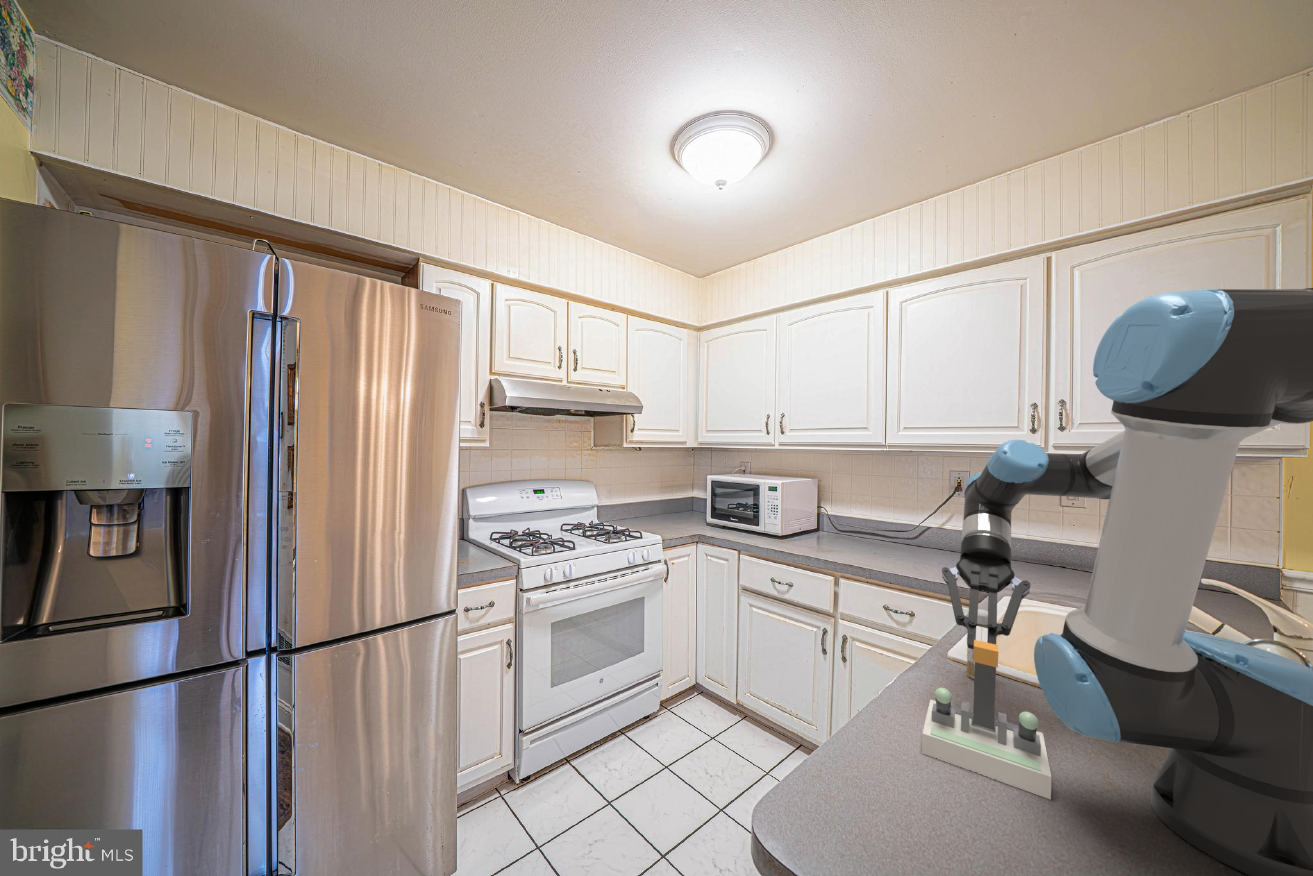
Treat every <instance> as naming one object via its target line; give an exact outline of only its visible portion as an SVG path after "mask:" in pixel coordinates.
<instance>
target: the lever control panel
mask: <svg viewBox="0 0 1313 876" xmlns="http://www.w3.org/2000/svg"><path fill="white" fill-rule="evenodd" d="M934 696H935V700H933V699H929V703H928V704H929V705H928V708H927V712H926V716H925V721H924V726H923V730H922V735H921V736H922V738H921V739H922V741H921V754H923V755H926V756H929V757H931V758H934V759H936V758H937V760H939V761H942V762H945V763H948V764H950V763H951V765H954V766H956V767H959V768H961V767H962V769H963V770H967V771H970V770H971V771H970V772H972V773H973V772H974V773H975V772H977V773H976V774H979V775H981V774H982V775H981V776H984V777H986V776H987V778H989V779H992V780H995V779H996V780H995V781H998V782H1001V783H1004V784H1006V785H1010V786H1012V787H1014V788H1017V789H1021V790H1023V791H1025V792H1027V793H1028V792H1029V793H1032V794H1034V795H1037V796H1040V797H1041V798H1045V799H1048V800H1050V801H1051V799H1052V778H1053V777H1052V772H1051V768H1050V762H1049V759H1048V758H1049V757H1048V753H1047V748H1046V744H1045V743H1046V742H1045V738H1044V734H1043V732H1041V731H1038V727H1039V720H1038V718H1037V716H1035V714H1034V713H1031V712H1030V711H1022V712H1020V714H1019V716H1018V725H1017V724H1014V723H1011V722H1008V719H1007V714H1006V713H1003V712H1000V711H999V712H997V718H995V717H994V721H996V732H995V733H994V732H991V731H988V730H984V729H981V728H978V727H975V726H972V725H971V721H972V714H973V711H972V710H970V709H971V704H970V703H969V702H966V701H962V702H961V707H958V706H954V705H952V694H951V692H950V691H949V690H948V689H947V688H945V687H938V688H937V689H936V690H935V692H934Z"/></svg>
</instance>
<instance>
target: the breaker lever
mask: <svg viewBox="0 0 1313 876" xmlns="http://www.w3.org/2000/svg"><path fill="white" fill-rule="evenodd" d="M973 662H975V675H974V681H973V682H974V683H973V684H974V685H973V709H972V710H973V711H972V712H973V714H972V721H971V725H972V726H975V727H978V728H981V729H984V730H988V731H991V732H994V733H995V732H996V721H994V718H995V716H996V715H995V712H996V711H995V709H996V684H997V683H996V682H997V680H996V679H997V678H996V677H997V668H998V667H999V645H998V644H996V645H995V644H991V643H987V642H982V641H978V640H974V655H973Z"/></svg>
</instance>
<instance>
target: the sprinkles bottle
mask: <svg viewBox="0 0 1313 876" xmlns="http://www.w3.org/2000/svg"><path fill="white" fill-rule="evenodd" d="M968 614H969V609H968V610H967V615H968ZM977 626H980V627H984V628H988V610H985V609H979V608H978V616H977ZM981 641H982V639H981ZM966 646H967V645H966ZM966 651H967V652H966V659H967V661H966V662H967V663H966V665H967V666H966V671H965V672H966V673H965V675H966V676H967V677H969V678H970V679H972V680H973V679H974V675H975V672H974V662H973V655H974V649H970V648H968V646H967V648H966Z"/></svg>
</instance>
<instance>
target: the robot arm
mask: <svg viewBox="0 0 1313 876" xmlns="http://www.w3.org/2000/svg"><path fill="white" fill-rule="evenodd" d="M1092 373H1093V377H1094V378H1097V379H1096V380H1095V383H1094V384H1095V386H1096V387H1097V389H1098V391H1099V393H1101V394H1102V395H1103V396H1104V397H1106V398H1107V399H1109V400H1111V401H1112V402H1113V403H1112V405H1111V410H1110V414H1111V415H1113V417H1115V419H1117V420H1118V421H1119V423H1120V424H1121V425H1122V426H1123V428H1124V430H1122V431H1120V432H1119V433H1118V434H1115V435H1114V436H1112V437H1109V438H1108V439H1107V440H1105V441H1104V442H1101V443H1100V444H1098V445H1096V446H1095V447H1092V448H1090V449H1089V450H1086V451H1085V452H1083V453H1078V454H1076V453H1075V454H1073V453H1070V454H1069V453H1047V451H1045V450H1044V449H1043V448H1042V447H1041V446H1040V445H1038V444H1036V443H1034V442H1027V440H1025V439H1010V440H1008V441H1005V442H1003V443H1001V444H1000V445H999V446H998V448H997V449H996V450H995V451H994V452H993V453H992V455H990V457H989V459H988V460H987V463H986V465H985V466H984V468H983V470H982V471H981V472H980V471H979V472H977V473H976V474H973V475H971V476H970V477H969V478H968V479H967V482H966V485H965V489H964V491H963V495H964V496H963V497H964V502H963V503H964V504H963V505H964V507H963V518H962V520H963V521H962V527H961V528H962V530H961V543H960V557H959V561H958V562H957V563H956V564H955V566H954V567H951V568H948V567H947V566H944V567H942V568H941V571H942V572H941V575H942V579H943V581H944V582H945V584H946V585H947V587H948V591H949V595H950V601H951V606H952V609H953V615H954V620H955V623H956V625H958V626H963V627H964V628H965V629H966V630H967V633H966V634H967V635H966V646H968V648H970V649H974V640H978V641H981V639H982V642H987V643H991V644H995V645H997V637H998V636H1000V635H1002V636H1005V637H1008V636H1010V634H1011V633H1012V629H1013V626H1014V624H1015V620H1016V617H1017V615H1018V612H1019V609H1020V606H1021V603H1022V601H1023V599H1024V598H1025V597H1027V596H1028V595H1029V594H1030V591H1031V582H1030V581H1029V580H1021V579H1020V578H1018V577H1016V576H1015V572H1014V570H1013V568H1012V548H1011V546H1012V513H1013V510H1014V509H1015V507H1016V506H1017V505H1018V504H1019V503H1020V502H1021V500H1023V498H1024V497H1025V496H1026V495H1029V496H1031V495H1032V496H1034V495H1035V496H1048V497H1049V496H1051V497H1070V498H1071V497H1073V498H1088V499H1098V500H1099V499H1100V500H1108V505H1107V508H1106V513H1105V516H1104V517H1105V518H1104V522H1103V525H1102V526H1103V527H1102V530H1101V533H1100V534H1101V535H1100V539H1099V544H1098V548H1097V550H1096V552H1097V553H1096V557H1095V561H1094V566H1093V570H1092V574H1091V577H1090V582H1089V587H1088V591H1087V595H1086V600H1085V604H1084V607H1081V608H1076V609H1072V610H1070V611H1069V612H1068V613H1067V614H1066V615H1065V616H1066V617H1065V619H1064V624H1063V628H1062V632H1061V634H1057V633H1054V632H1050V633H1048V634H1043V635H1042V636H1039V637H1038V638H1037V640H1036V643H1035V645H1034V650H1033V662H1034V663H1033V664H1034V668H1035V673H1036V677H1037V681H1038V683H1039V685H1040V688H1041V690H1042V693H1043V695H1044V698H1045V699H1046V701H1047V703H1048V705H1049V706H1050V708H1051V710H1052V711H1053V712H1054V714H1055V715H1056V716H1057V718H1058V720H1059V719H1060V721H1061V722H1062V723H1063V724H1064V725H1065V726H1066V727H1067V728H1069V729H1070V730H1072V731H1073V732H1075V733H1076V734H1078V735H1082V736H1084V737H1089V738H1094V739H1099V740H1103V741H1104V740H1105V741H1107V742H1109V743H1112V744H1113V743H1114V744H1115V743H1126V744H1127V743H1128V744H1136V745H1143V746H1150V747H1151V746H1152V747H1159V748H1168V749H1171V751H1170V752H1169V754H1168V755H1167V756H1168V757H1167V758H1166V760H1165V761H1164V762H1163V765H1162V766H1161V768H1160V770H1159V771H1158V772H1157V774H1156V776H1155V778H1154V779H1153V782H1152V784H1151V791H1150V793H1151V794H1150V804H1151V807H1152V810H1153V811H1154V814H1156V816H1157V817H1158V818H1159V819H1160V820H1161V821H1162V823H1164V825H1166V826H1167V827H1168V828H1169V829H1170V830H1171V831H1173V832H1174V833H1175V834H1177V835H1178V836H1179V837H1181V838H1182V839H1183V840H1185V841H1187V842H1188V843H1189V844H1191V846H1194V847H1195V848H1196V849H1197V850H1198V849H1199V850H1200V851H1201V852H1203V853H1205V854H1207V855H1209V856H1210V857H1212V858H1214V859H1215V860H1217V861H1219V862H1221V863H1223V864H1224V865H1227V866H1229V867H1231V868H1233V869H1235V870H1237V871H1239V872H1241V873H1244V874H1245V875H1248V876H1313V669H1312V668H1311V667H1308V666H1306V665H1304V664H1303V663H1301V662H1299V661H1295V660H1294V659H1293V660H1292V659H1290V658H1288V657H1285V656H1282V655H1279V654H1277V653H1274V652H1271V651H1268V650H1265V649H1262V648H1258V647H1255V646H1252V645H1250V644H1247V643H1246V644H1245V643H1244V642H1243V643H1242V642H1239V641H1235V640H1233V639H1227V638H1224V637H1220V636H1215V635H1212V634H1207V633H1201V632H1197V631H1196V632H1195V631H1190V630H1187V626H1188V624H1189V620H1190V616H1191V613H1192V610H1193V607H1194V603H1195V599H1196V596H1197V592H1198V589H1199V585H1200V582H1201V578H1202V576H1203V575H1202V574H1203V572H1204V567H1205V564H1206V561H1207V558H1208V554H1209V551H1210V547H1211V544H1212V540H1213V537H1214V533H1215V530H1216V528H1217V527H1216V526H1217V524H1218V519H1219V516H1220V513H1221V509H1222V505H1223V502H1224V499H1225V496H1226V491H1227V489H1228V486H1229V482H1230V479H1231V478H1230V477H1231V475H1232V471H1233V467H1234V465H1235V461H1236V457H1237V453H1238V450H1239V447H1240V444H1241V442H1242V441H1244V440H1245V439H1246V438H1249V437H1251V436H1254V435H1256V434H1258V433H1261V432H1264V431H1266V430H1268V429H1270V428H1272V427H1275V426H1278V425H1280V424H1285V425H1286V424H1288V425H1301V424H1308V423H1312V422H1313V287H1311V288H1310V287H1308V288H1301V289H1300V288H1289V289H1288V288H1284V289H1281V288H1280V289H1278V288H1274V289H1273V288H1271V289H1270V288H1268V289H1266V288H1265V289H1263V288H1262V289H1261V288H1260V289H1258V288H1255V289H1254V288H1253V289H1251V288H1250V289H1248V288H1247V289H1246V288H1244V289H1242V288H1241V289H1240V288H1238V289H1235V288H1234V289H1232V288H1231V289H1229V288H1228V289H1227V288H1226V289H1221V288H1218V289H1217V288H1216V289H1215V288H1214V289H1213V288H1208V289H1207V288H1200V289H1197V290H1196V289H1194V290H1186V291H1185V290H1184V291H1182V290H1181V291H1171V292H1163V293H1159V294H1155V295H1154V294H1153V295H1150V296H1147V297H1146V298H1143V299H1141V300H1139V301H1137V302H1135V303H1134V304H1132V305H1130V306H1129V307H1128V308H1126V309H1125V310H1124V312H1123V313H1122V314H1121V315H1119V316H1117V317H1115V319H1114V320H1113V322H1112V323H1111V324H1110V326H1109V327H1108V328H1107V329H1106V331H1105V332H1104V334H1103V335H1102V337H1101V339H1100V341H1099V343H1098V345H1097V347H1096V351H1095V354H1094V358H1093V364H1092ZM959 576H960V578H961V579H962V581H964V583H965V584H966V586H967V587H969V589H970V590H969V605H968V610H969V614H968V613H967V615H965V614H964V610H963V605H962V601H961V596H960V592H959V587H958V583H957V582H958V577H959ZM1010 584H1011V590H1012V594H1011V596H1010V599H1009V602H1008V604H1007V607H1006V610H1005V613H1004V615H1003V619H1002V621H1001V623H999V622H998V593H1000V592H1002V591H1003V590H1004V589H1005V588H1007V587H1008V586H1009V585H1010ZM980 592H985V593H987V594H988V599H987V600H988V602H987V606H988V607H987V611H988V628H984V627H980V626H977V616H978V609H979V596H980ZM974 672H975V662H974Z"/></svg>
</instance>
